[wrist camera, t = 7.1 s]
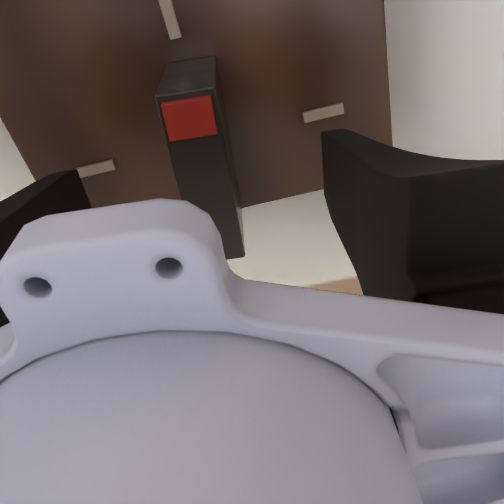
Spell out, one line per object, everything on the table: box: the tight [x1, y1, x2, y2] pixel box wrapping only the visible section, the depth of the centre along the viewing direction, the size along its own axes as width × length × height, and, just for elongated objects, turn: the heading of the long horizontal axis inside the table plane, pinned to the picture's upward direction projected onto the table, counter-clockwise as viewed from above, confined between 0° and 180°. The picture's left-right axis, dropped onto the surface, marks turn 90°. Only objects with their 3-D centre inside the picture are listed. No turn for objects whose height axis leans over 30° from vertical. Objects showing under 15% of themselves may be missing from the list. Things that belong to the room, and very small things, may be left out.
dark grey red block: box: [155, 56, 245, 259], centre depth 15 cm, size 6×2×4 cm, turn 8°
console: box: [0, 0, 393, 208], centre depth 17 cm, size 13×11×3 cm
